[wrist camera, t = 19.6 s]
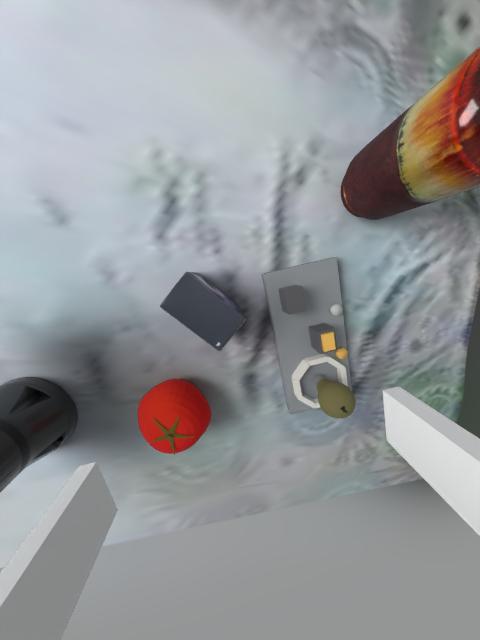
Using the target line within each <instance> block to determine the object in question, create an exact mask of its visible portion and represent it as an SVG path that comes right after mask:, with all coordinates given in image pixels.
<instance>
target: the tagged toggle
mask: <svg viewBox="0 0 480 640" xmlns="http://www.w3.org/2000/svg"><path fill="white" fill-rule="evenodd" d="M309 333H310V339H311V346H312V348H314V349H315V350H316V351H317V352H318V353H320V354H324V353H328V352H332V351H336V350H337V342H336V334H335V328H334V327H332V326H330V325H328V324H326V323H321V324H317V325H313V326H309Z"/></svg>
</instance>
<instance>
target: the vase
mask: <svg viewBox="0 0 480 640" xmlns="http://www.w3.org/2000/svg"><path fill="white" fill-rule="evenodd" d="M479 186H480V47H479V48H478V49H476V50H475V51H474V52H473V53H472V54H471V55H469V56H468V57H467V58H466V59H465V60H463V61H462V62H461V63H460V64H459V65H458V66H456V67H455V68H454V69H453V70H452V71H451V72H450V73H448V74H447V75H446V76H445V77H444V78H443V79H442V80H440V81H439V82H438V83H437V84H436V85H435V86H434V87H432V88H431V89H430V90H429V91H428V92H427V93H426V94H424V95H423V96H422V97H421V98H420V99H419V100H418V101H416V102H415V103H414V104H413V105H412V106H411V107H410V108H408V109H407V110H406V111H405V112H404V113H403V114H402V115H400V116H399V117H398V118H397V119H396V120H395V121H394V122H392V123H391V124H390V125H389V126H388V127H387V128H386V129H385V130H383V131H382V132H381V133H380V134H379V135H378V136H377V137H375V138H374V139H373V140H372V141H371V142H370V143H369V144H368V145H366V146H365V147H364V148H363V149H362V150H361V151H360V152H359V153H358V154H357V155H356V156H355V157H354V158H353V160H352V161H351V163H350V165H349V167H348V169H347V172H346V174H345V176H344V178H343V181H342V185H341V198H342V202H343V204H344V206H345V208H346V209H347V210H348V211H349V212H350V213H351V214H353V215H355V216H357V217H363V218H365V219H370V220H376V219H381V218H385V217H388V216H391V215H395V214H398V213H401V212H404V211H407V210H410V209H413V208H416V207H419V206H422V205H425V204H428V203H431V202H434V201H437V200H440V199H443V198H446V197H449V196H452V195H455V194H458V193H461V192H464V191H467V190H470V189H473V188H476V187H479Z"/></svg>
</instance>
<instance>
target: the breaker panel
mask: <svg viewBox="0 0 480 640" xmlns="http://www.w3.org/2000/svg"><path fill="white" fill-rule="evenodd" d="M262 278H263V284H264V289H265V294H266V299H267V304H268V309H269V314H270V319H271V325H272V330H273V335H274V340H275V345H276V350H277V355H278V360H279V366H280V371H281V376H282V381H283V386H284V391H285V396H286V401H287V407H288V409H289V411H290V414H292V413H296V412H300V411H304V410H308V409H312V408H319V407H320V405H319V402H318V391H317V387H316V386H315V384H314V382H313V380H314V378H315V377H316V376H317V375H323V376H324V377H325V378H326V379H329V380H331V381H336V382H340V383H343V384H345V385H346V386H347V387H349V388H350V390H351V391H352V385H351V376H350V368H349V359H348V350H347V342H346V333H345V325H344V316H343V308H342V299H341V290H340V282H339V273H338V265H337V257H334V258H329V259H324V260H320V261H315V262H311V263H307V264H302V265H298V266H294V267H289V268H285V269H281V270H276V271H272V272H268V273H263V274H262ZM292 285H299V286H303V290H304V297H305V303H306V310H307V311H303V312H299V313H294V314H290V315H288V314H287V313H285V312H283V311H282V306H281V301H280V295H279V288H283V287H288V286H292ZM321 323H326V324H328V325H330V326H332V327H334V328H335V334H336V342H337V350H336V351H332V352H328V353H324V354H320V353H318V352H317V351H316V350H315V349H314V348H312V346H311V339H310V333H309V326H313V325H317V324H321Z"/></svg>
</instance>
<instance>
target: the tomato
mask: <svg viewBox="0 0 480 640" xmlns="http://www.w3.org/2000/svg"><path fill="white" fill-rule="evenodd" d="M210 419H211V410H210V406H209V404H208V402H207V400H206V398H205V397H204V395H203V394H202V393H201V391H200V390H199V389H198V388H197V387H196V386H194V385H193V384H192V383H190V382H188V381H185V380H182V379H170V380H167V381H164V382H162V383H160V384H159V385H157V386H155V387H154V388H153V389H151V390H150V391H149V392H148V393H147V394H145V396H144V397H143V398H142V400H141V402H140V404H139V409H138V420H139V427H140V430H141V432H142V434H143V436H144V437H145V439H146V440H147V442H148V443H149V444H150V445H151V446H152V447H153V448H155V449H156V450H158V451H160V452H163V453H169V454H172V453H174V455H175V453H178V452H181V451H184V450H186V449H188V448H190V447H191V446H192V445H194V444H195V443H196V442H197V441H198V440H199V438H200V437H201V436H202V434H203V433H204V432H205V431H206V429H207V427H208V425H209V423H210Z"/></svg>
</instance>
